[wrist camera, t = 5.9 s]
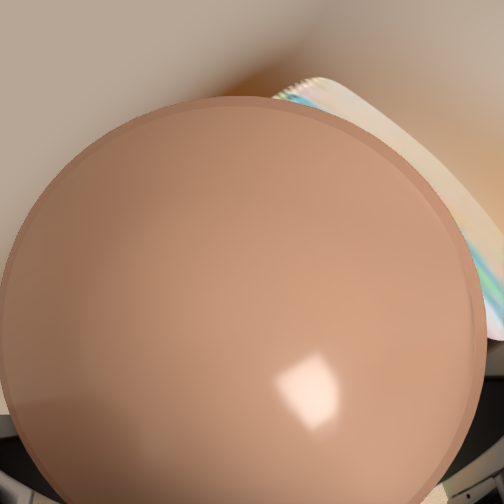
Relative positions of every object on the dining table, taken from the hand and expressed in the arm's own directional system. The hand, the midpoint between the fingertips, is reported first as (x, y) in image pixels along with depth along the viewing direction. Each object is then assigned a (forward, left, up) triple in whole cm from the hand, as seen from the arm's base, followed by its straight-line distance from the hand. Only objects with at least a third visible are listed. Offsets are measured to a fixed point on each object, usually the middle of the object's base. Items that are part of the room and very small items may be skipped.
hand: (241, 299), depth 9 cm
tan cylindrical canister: (-1, -1, -7) cm, 7 cm away
